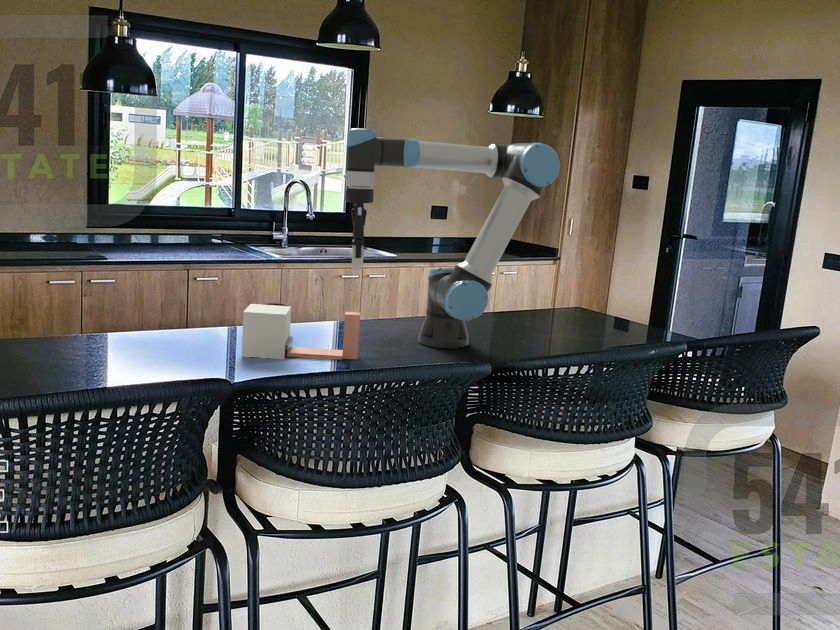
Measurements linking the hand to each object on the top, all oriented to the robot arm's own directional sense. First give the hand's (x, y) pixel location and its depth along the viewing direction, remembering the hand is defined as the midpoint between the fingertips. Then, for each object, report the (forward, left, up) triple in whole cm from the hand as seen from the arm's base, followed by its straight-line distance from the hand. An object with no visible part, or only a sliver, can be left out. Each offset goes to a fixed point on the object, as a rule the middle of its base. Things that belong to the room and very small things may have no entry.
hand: (357, 266), depth 229 cm
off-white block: (+23, +6, -24) cm, 34 cm away
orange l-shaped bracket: (+8, +6, -24) cm, 26 cm away
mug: (+22, -12, -24) cm, 35 cm away
